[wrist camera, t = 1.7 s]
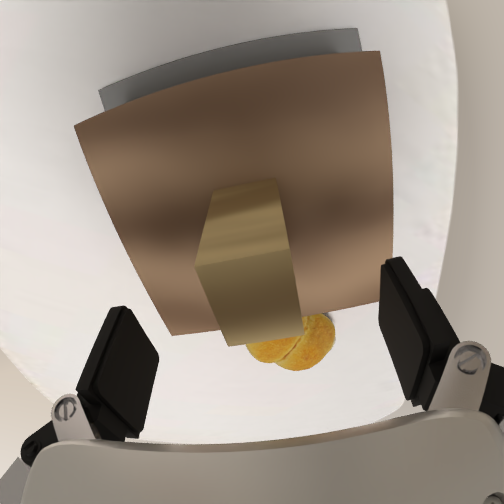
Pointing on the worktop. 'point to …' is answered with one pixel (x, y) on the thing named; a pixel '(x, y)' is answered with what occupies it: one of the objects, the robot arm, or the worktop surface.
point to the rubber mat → (230, 62)
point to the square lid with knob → (252, 193)
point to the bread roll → (298, 345)
